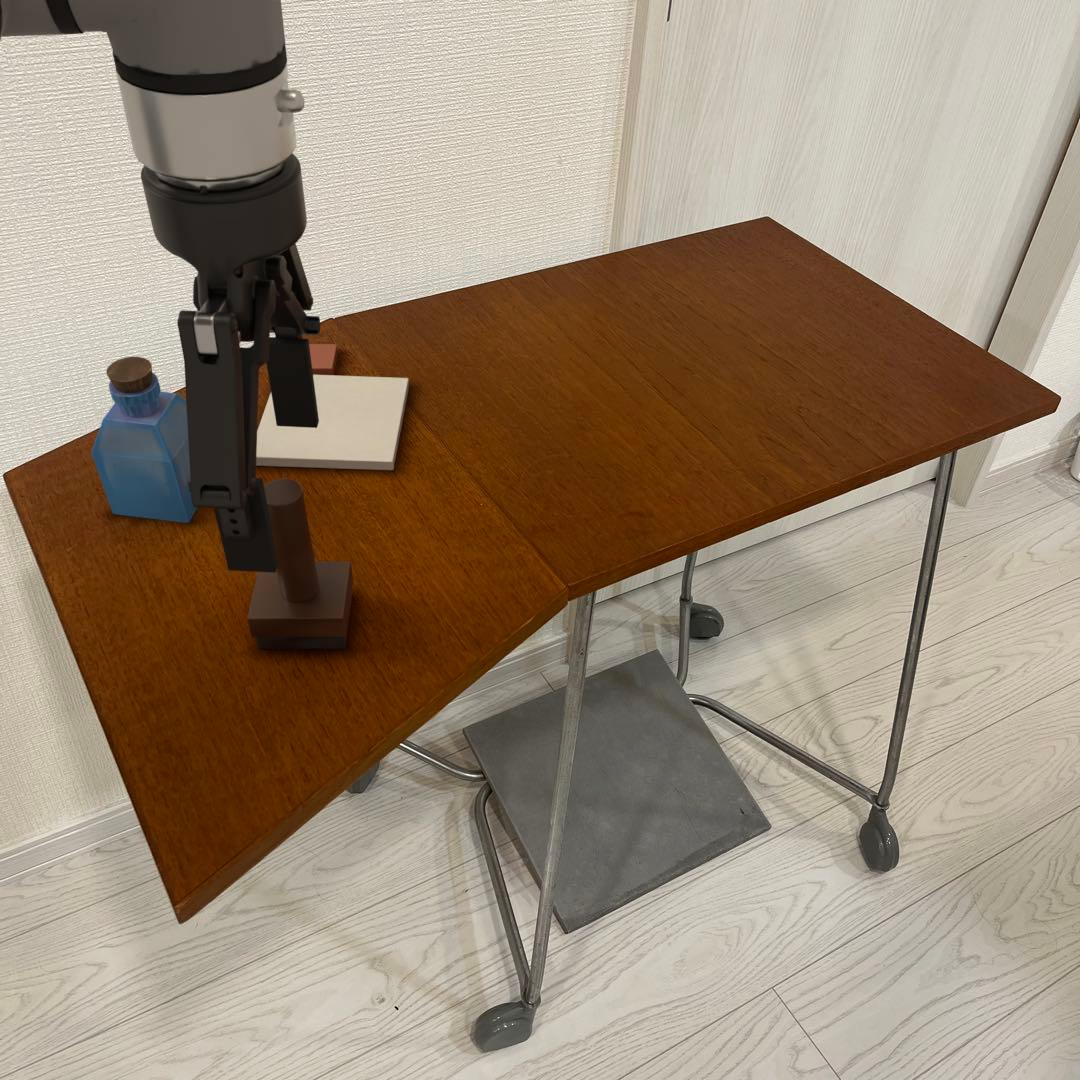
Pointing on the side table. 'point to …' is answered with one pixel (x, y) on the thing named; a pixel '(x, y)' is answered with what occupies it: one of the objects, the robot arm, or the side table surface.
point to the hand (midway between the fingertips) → (277, 490)
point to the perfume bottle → (144, 446)
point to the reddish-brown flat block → (323, 358)
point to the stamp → (298, 583)
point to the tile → (340, 426)
